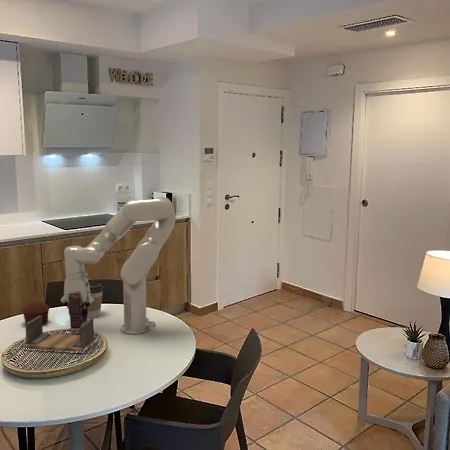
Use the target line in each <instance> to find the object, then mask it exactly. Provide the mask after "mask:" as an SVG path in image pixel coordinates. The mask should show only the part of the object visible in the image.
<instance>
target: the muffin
mask: <svg viewBox="0 0 450 450" xmlns="http://www.w3.org/2000/svg"><path fill="white" fill-rule="evenodd" d="M49 311H50V307H49V305H47V303H46V302H43V301H41V300H33V301H30V302H28V303H26V304H25V305H24V306H23V309H22V310H21V312H22V313H23V318H24V323H25V324H26V323H28V322H29V321H31V320H33V319H34V318H36V317H38V316H42V327H43V326H44V325H47V323H48V321H49V320H48V318H49V313H50V312H49Z"/></svg>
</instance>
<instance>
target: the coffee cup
mask: <svg viewBox="0 0 450 450" xmlns="http://www.w3.org/2000/svg"><path fill="white" fill-rule="evenodd" d="M88 283H89V287H90V294H91V296H92V297H93V298H94V301H93V302H92V303H91V304H90V305H89V306H88V315H87V319H96V318H99V317H100V316H101V312H102V311H101V310H102V302H103V301H102V300H103V291H104V290H105V289H104V286H102V283H100V282H88ZM87 302H89V299H88V300H87Z"/></svg>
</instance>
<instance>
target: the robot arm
mask: <svg viewBox="0 0 450 450" xmlns="http://www.w3.org/2000/svg"><path fill="white" fill-rule="evenodd" d="M176 215H177V214H176V210H175V207H174V205H173V203H172V201H171V200H170V198H169V197H166V196H159V197H157V198H154V199H153V198H152V199H144V200H143V199H142V200H139V199H137V198H131V199H128V200H127V201H126V202H125V203H123V206H122V207H121V208H120V209H119V210H118V211H117V212H116V213H115V214H114V215H113V216H112V217H111V219H109V220H108V222H107V223H106V224H105V225H104V228H103V229H102V230H101V231H100V233H99V234H98V235H96V237H95V238H94V239H93V240H92V241H91V242H90V243H89V244H88V245H87V246H86V247H82V246H80V245H70V246H67V247H65V248H64V252H63V253H64V265H65V276H66V278H65V279H64V284H63V285H64V286H63V296H62V297H61V298H60V301H61V303H62V304H64V305H65V307H66V309H68V316H70V310H69V296H68V294H69V293H80V296H81V302H82V306H83V309H82V315H83V318H85V317H86V316H87V315H88V306H89V305H90V304H91V303H92V302H93V301H94V298H93V297H92V296H91V294H90V287H89V283H90V282H89V280H88V274H89V273H88V272H86V270H85V265H95V264H96V263H98V262H99V261H100V260H101V258H102V257H103V256H104V255H105V254H106V252H108V251H109V249H110V248H111V247H112V246H114V244H115V243H116V242H117V241H118V240H121V238H123V237H124V236H125V235H126V234H127V232H129V230H130V229H131V228H132V227H133V226H134V225H135V224H136V223H137V222H149V221H154V222H153V223H152V225H151V226H150V227H149V230H148V231H147V232H146V233H145V235H144V237H142V239H141V240H140V241H139V242H138V244H137V245H136V247H135V249H134V250H133V252H132V253H131V255H130V256H129V257H128V259H126V260H125V262H124V264H123V265H122V268H121V270H120V278H121V280H122V282H123V283H122V285H123V287H122V290H123V294H122V295H123V325H121V326H120V331H121V333H123V334H127V335H140V334H144V333H147V332H148V331H150V330H151V328H154V329H155V328H156V325H157V324H156V322H155V321H150V320H149V317H147V274H148V273H149V271H150V270H151V268H152V267H153V266H154V264H155V263H156V261H157V259H158V258H159V255H160V251H161V249H162V247H163V246H164V244H165V243H166V242H167V239H168V238H169V236H170V235H171V233H172V232H173V230H174V227H175V226H176V225H175V224H176V219H177V217H176ZM88 299H89V302H87V300H88Z"/></svg>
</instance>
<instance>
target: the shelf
mask: <svg viewBox="0 0 450 450" xmlns="http://www.w3.org/2000/svg"><path fill="white" fill-rule="evenodd" d="M94 324H95V323H94V318H88V319H87V322H85V323H84V324H83V325H82V326H80V327H79V330H78V331H79V335H77V334H76V335H74V334H63V333H61V334H60V333H59V334H58V333H45V332H44V331H43V326H42V316H38V317H36V318H34V319H33V320H31V321H29V322H28V323H25V341H26V343H24V344H23V348H29V349H40V350H54V351H83V350H84V349H85V348H86V347H87V346H89V345H90V344H91V343H92V342H93V341H94V340H95V339H96V338H98V337H97V336H95V330H94V329H95V328H94V327H95V325H94Z"/></svg>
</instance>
